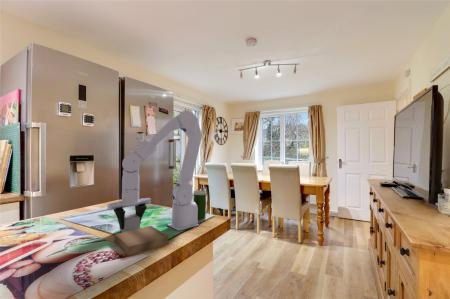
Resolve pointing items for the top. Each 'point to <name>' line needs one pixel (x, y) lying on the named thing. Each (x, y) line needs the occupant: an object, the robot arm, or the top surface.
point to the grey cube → (131, 222)
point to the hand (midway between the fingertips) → (129, 226)
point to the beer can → (200, 203)
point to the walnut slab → (140, 240)
